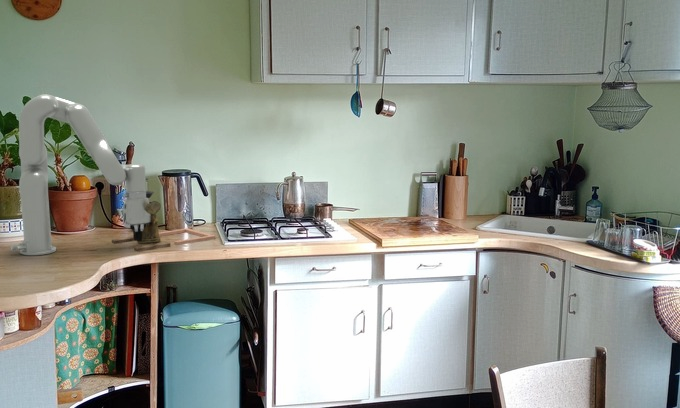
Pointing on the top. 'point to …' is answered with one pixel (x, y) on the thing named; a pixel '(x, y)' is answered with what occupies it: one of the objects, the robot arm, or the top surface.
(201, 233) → the frame
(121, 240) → the walnut dock
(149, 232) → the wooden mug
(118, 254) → the top surface
